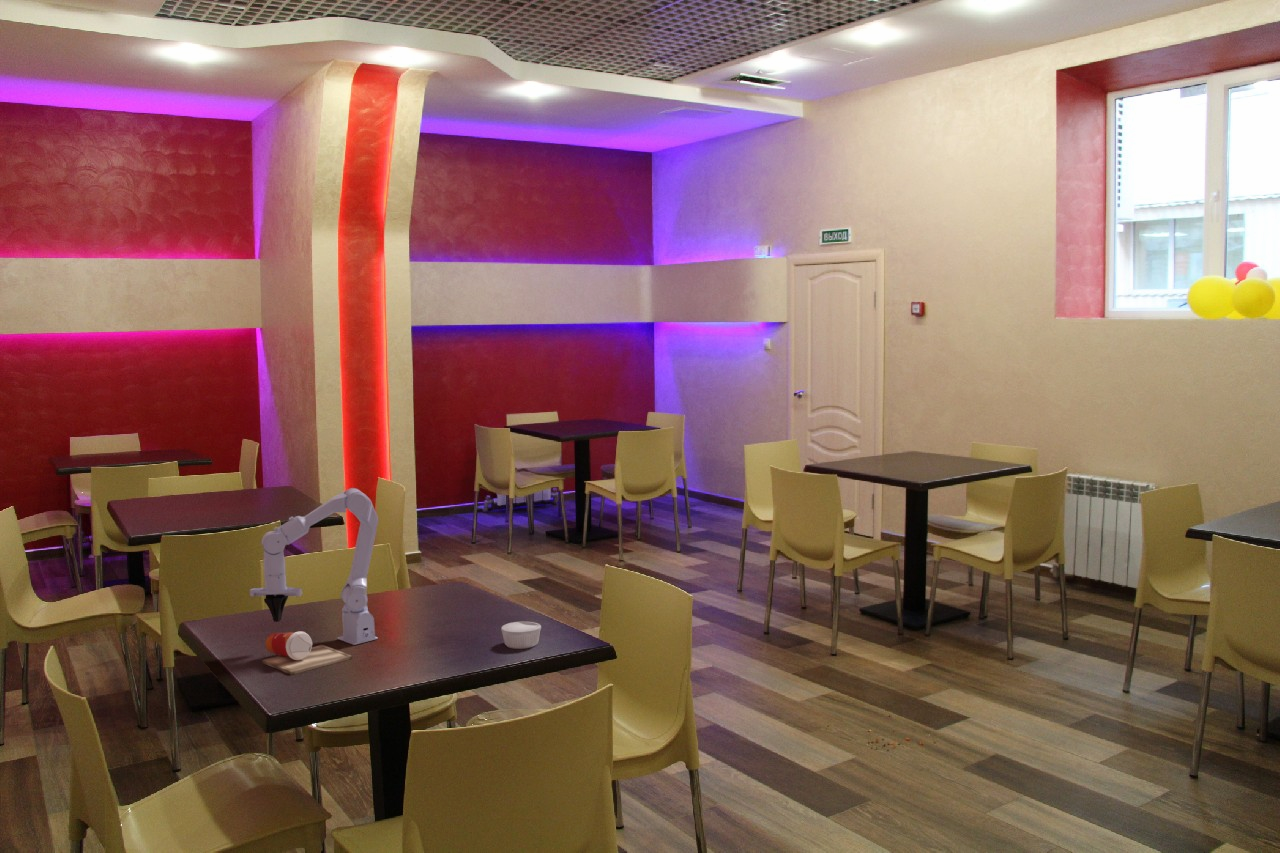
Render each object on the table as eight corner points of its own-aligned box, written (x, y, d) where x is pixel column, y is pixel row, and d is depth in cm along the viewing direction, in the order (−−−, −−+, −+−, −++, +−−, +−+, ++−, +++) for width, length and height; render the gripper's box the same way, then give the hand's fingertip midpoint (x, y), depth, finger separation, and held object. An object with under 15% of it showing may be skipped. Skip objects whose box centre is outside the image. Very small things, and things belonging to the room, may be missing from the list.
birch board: (352, 658, 289) (351, 655, 289) (291, 675, 276) (291, 671, 276) (322, 647, 300) (322, 644, 300) (262, 662, 287) (262, 659, 287)
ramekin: (547, 640, 303) (546, 622, 303) (533, 651, 292) (532, 633, 292) (511, 637, 306) (510, 620, 306) (495, 649, 295) (495, 630, 295)
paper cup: (290, 633, 298) (317, 635, 289) (281, 660, 295) (308, 663, 286) (266, 625, 292) (293, 628, 283) (257, 653, 290) (284, 656, 281)
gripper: (305, 570, 301) (307, 617, 302) (256, 570, 302) (259, 616, 303) (294, 576, 294) (297, 623, 295) (245, 576, 295) (248, 623, 296)
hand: (277, 620), depth 298 cm, fingers closed
